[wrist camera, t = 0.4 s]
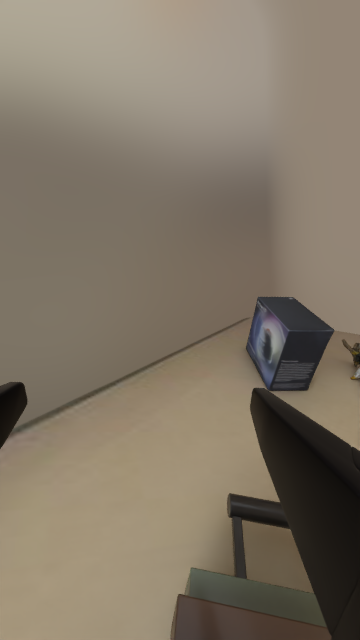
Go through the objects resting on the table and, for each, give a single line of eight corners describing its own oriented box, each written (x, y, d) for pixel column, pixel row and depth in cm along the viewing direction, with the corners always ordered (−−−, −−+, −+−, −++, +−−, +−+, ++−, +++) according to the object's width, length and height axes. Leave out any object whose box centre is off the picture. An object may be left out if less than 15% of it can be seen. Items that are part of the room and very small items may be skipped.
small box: (242, 347, 41) (255, 294, 36) (276, 348, 42) (293, 296, 37) (266, 391, 32) (287, 328, 27) (309, 391, 33) (338, 329, 28)
